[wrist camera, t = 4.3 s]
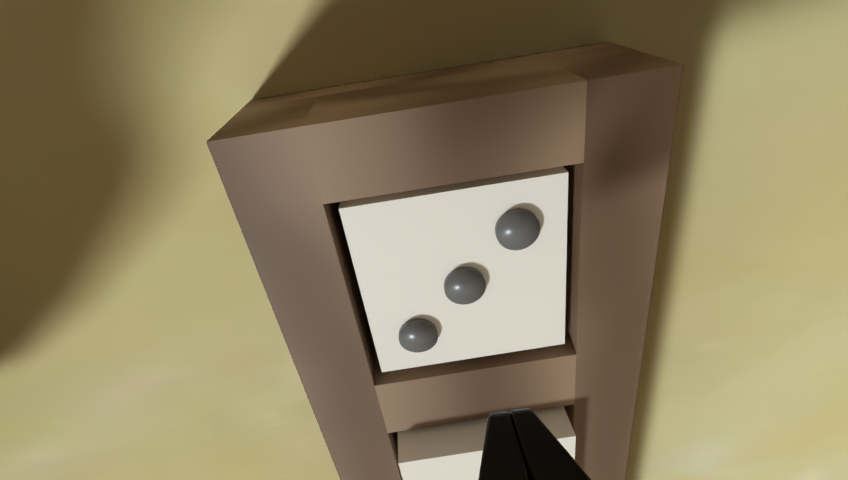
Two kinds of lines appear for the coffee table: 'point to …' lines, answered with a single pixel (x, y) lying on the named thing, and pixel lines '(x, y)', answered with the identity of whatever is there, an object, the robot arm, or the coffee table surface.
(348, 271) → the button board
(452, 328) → the three dot tile
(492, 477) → the robot arm
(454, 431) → the two dot tile
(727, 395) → the coffee table surface
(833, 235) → the coffee table surface
